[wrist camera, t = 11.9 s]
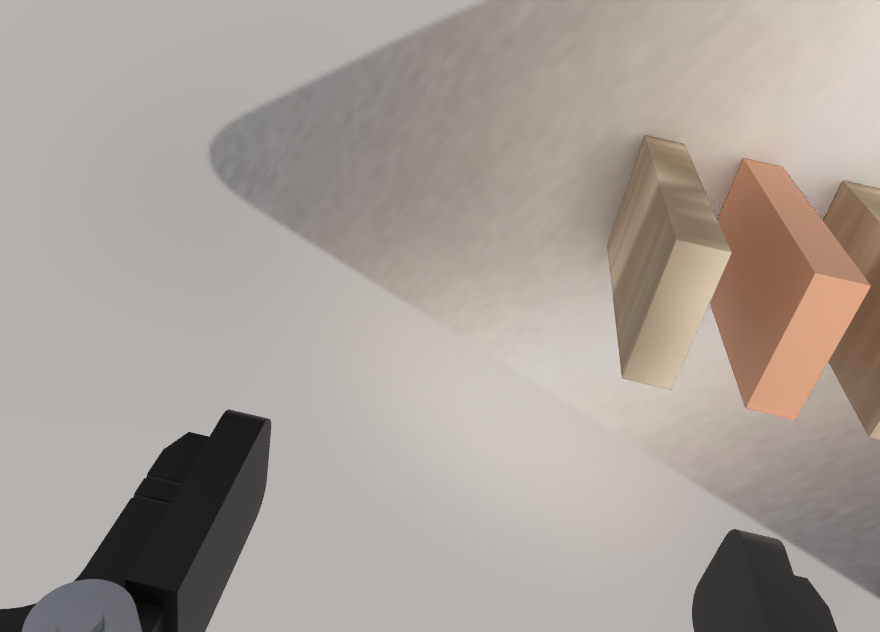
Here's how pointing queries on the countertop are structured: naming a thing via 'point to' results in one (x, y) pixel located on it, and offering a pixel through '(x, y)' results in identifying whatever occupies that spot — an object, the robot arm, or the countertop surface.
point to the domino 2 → (780, 290)
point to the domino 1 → (663, 263)
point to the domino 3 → (876, 321)
